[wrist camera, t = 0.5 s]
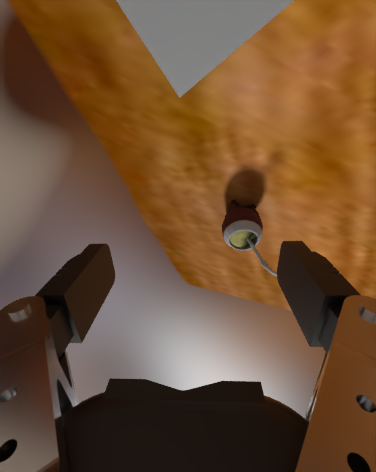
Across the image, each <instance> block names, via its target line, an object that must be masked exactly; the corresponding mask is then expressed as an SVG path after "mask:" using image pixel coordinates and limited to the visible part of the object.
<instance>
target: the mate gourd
mask: <svg viewBox="0 0 376 472" xmlns="http://www.w3.org/2000/svg"><path fill="white" fill-rule="evenodd" d="M231 203H232V205H233V207H232V210H231V211H230V212H229V213H228V214H227V215H226V216H225V219H224V222H223V224H222V232H223V237H224V240H225V241H226V243H227V244H228V245H229V246H230V247H232V248H234V249H236V250H248V249H251V248H252V249H253V250H254V252H255V254H256V255H257V257H258V258H259V260H260V262H261V265H262V266H263V268H265V269H266V270H268V271H269V272H270V273H271V274H273V275H275V276H277V273H276V272H275V271H273V270H272V269H271V268H270V267H268V264H267V263H266V262H265V261H264V260H263V258H262V257H261V255H260V254H259V252H258V250H257V249H256V247H255V246H256V245H257V244H258V243H259V241H260V239H261V238H262V229H263V226H262V222H261V219H260V216H259V214H258V212H257V211H256V210H255V208H256V206H255V205H254V204H253V205H250V206H248V207H246V208H244V207H239V205H238V204H237V202H236V201H235V200H233V201H231Z"/></svg>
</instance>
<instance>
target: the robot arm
mask: <svg viewBox="0 0 376 472" xmlns="http://www.w3.org/2000/svg"><path fill="white" fill-rule="evenodd" d="M277 279H278V283H279V285H280V287H281V289H282V291H283V293H284V295H285V297H286V299H287V301H288V303H289V305H290V307H291V309H292V311H293V314H294V316H295V317H296V319H297V322H298V324H299V326H300V327H301V329H302V332H303V334H304V336H305V338H306V340H307V342H308V344H309V346H310V347H323V348H324V350H325V352H326V353H325V356H324V359H323V362H322V365H321V368H320V372H319V375H318V378H317V381H316V384H315V388H314V391H313V394H312V397H311V400H310V403H309V407H308V410H307V413H306V415H305V418H303V417H302V416H301V415H299V414H298V413H297V412H295V411H294V410H292V409H291V408H290V407H288V406H286V405H284V404H282V403H281V402H279V401H277V400H274V399H272V398H270V397H267V396H264V395H263V390H262V386H261V382H245V381H243V382H242V381H221V382H217V383H213V384H209V385H205V386H201V387H198V388H194V389H190V390H185V391H181V390H177V389H174V388H171V387H168V386H165V385H161V384H158V383H155V382H152V381H149V380H146V379H110V380H109V382H108V385H107V388H106V391H105V392H104V393H100V394H98V395H95V396H92V397H91V398H89V399H87V400H84V401H82V402H81V403H79V402H78V399H77V396H76V391H75V386H74V382H73V377H72V373H71V368H70V363H69V359H68V354H67V352H66V347H67V346H68V344H69V343H82V342H83V340H84V338H85V336H86V334H87V332H88V330H89V329H90V327H91V325H92V323H93V321H94V319H95V317H96V316H97V314H98V312H99V310H100V308H101V306H102V304H103V303H104V301H105V299H106V297H107V295H108V293H109V291H110V289H111V288H112V285H113V284H114V281H115V270H114V266H113V261H112V257H111V253H110V249H109V246H108V245H107V244H89V245H88V246H87V247H86V248H85V249H84V251H83V252H82V253H81V254H79V255H77V256H75V257H73V258H72V259H70V260H69V261H67V263H66V264H65V265H64V266H63V267H62V269H60V270H59V271H58V272H57V273H56V275H54V276H53V277H52V278H51V279H50V280H49V281H48V282H47V283H46V284H45V286H44V287H43V288H42V289H41V290H40V291H39V292H38V293H37V294H36V295H35V296H28V297H23V298H20V299H18V300H15V301H13V302H11V303H9V304H8V305H6V306H5V307H3V308H2V309H1V310H0V472H376V299H374V298H371V297H367V296H361V295H360V294H359V293H358V292H357V291H356V289H355V288H354V287H353V286H352V285H351V284H350V283H349V282H348V281H347V280H346V279H345V278H344V277H343V276H342V275H341V274H339V271H338V270H337V269H336V268H335V267H333V265H332V264H331V263H330V262H329V261H328V260H327V259H326V258H325V257H323V256H322V255H320V254H318V253H316V252H311V250H310V249H309V248H308V247H307V246H306V245H305V244H304V242H303V241H283V242H282V245H281V249H280V255H279V261H278V267H277Z"/></svg>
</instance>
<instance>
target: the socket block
mask: <svg viewBox="0 0 376 472" xmlns="http://www.w3.org/2000/svg"><path fill="white" fill-rule="evenodd" d="M116 1H117V2H118V4H119V5H120V7H121V8H122V10H123V12H124V13H125V15H126V16H127V18H128V19H129V21H130V22H131V24H132V25H133V27H134V28H135V30H136V32H137V33H138V35H139V36H140V38H141V39H142V41H143V42H144V44H145V45H146V47H147V48H148V50H149V51H150V53H151V55H152V56H153V58H154V59H155V61H156V62H157V64H158V65H159V67H160V68H161V70H162V71H163V73H164V75H165V76H166V78H167V79H168V81H169V82H170V84H171V85H172V87H173V88H174V90H175V91H176V93H177V94H178V96H179V98H180V97H181V96H182V95H183V94H185V93H186V92H187V91H188V90H189V89H190V88H192V87H193V86H194V85H195V84H196V83H197V82H199V81H200V80H201V79H202V78H203V77H205V76H206V75H207V74H208V73H209V72H210V71H212V70H213V69H214V68H215V67H216V66H217V65H219V64H220V63H221V62H222V61H223V60H224V59H226V58H227V57H228V56H229V55H230V54H232V53H233V52H234V51H235V50H236V49H237V48H239V47H240V46H241V45H242V44H243V43H244V42H246V41H247V40H248V39H249V38H250V37H251V36H253V35H254V34H255V33H256V32H257V31H259V30H260V29H261V28H262V27H263V26H264V25H266V24H267V23H268V22H269V21H270V20H271V19H273V18H274V17H275V16H276V15H277V14H279V13H280V12H281V11H282V10H283V9H284V8H286V7H287V6H288V5H289V4H290V3H291V2H293V1H294V0H116Z"/></svg>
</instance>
